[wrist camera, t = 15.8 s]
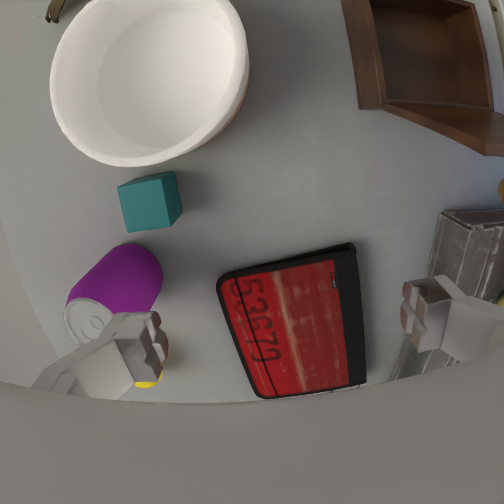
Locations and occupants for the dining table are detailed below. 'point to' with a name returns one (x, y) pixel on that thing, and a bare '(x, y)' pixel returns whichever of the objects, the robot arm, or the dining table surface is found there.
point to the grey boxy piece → (461, 273)
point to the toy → (500, 301)
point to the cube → (150, 202)
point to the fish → (54, 10)
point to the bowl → (149, 78)
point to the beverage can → (112, 291)
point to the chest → (418, 53)
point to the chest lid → (458, 126)
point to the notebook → (298, 322)
